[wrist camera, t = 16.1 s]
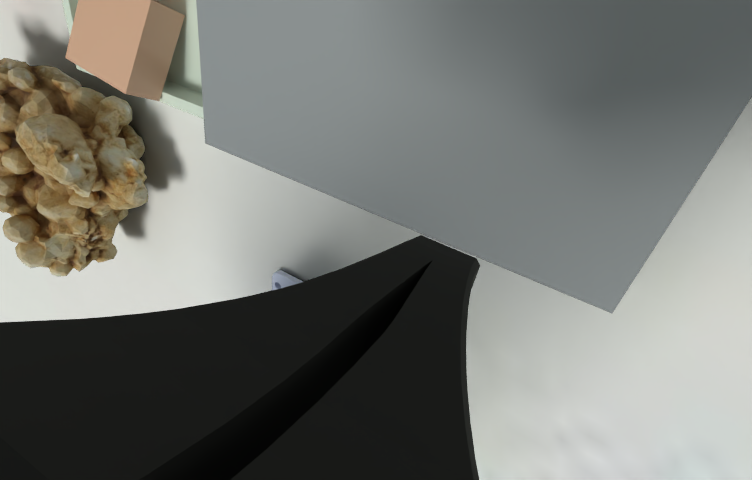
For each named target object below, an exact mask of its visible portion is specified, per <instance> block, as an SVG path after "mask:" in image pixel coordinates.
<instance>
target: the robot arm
mask: <svg viewBox="0 0 752 480" xmlns="http://www.w3.org/2000/svg"><path fill="white" fill-rule="evenodd" d="M479 267H480V265H479V263H478V261H477V259H476V258H474V257H471V256H469V255H467V254H464V253H462V252H459V251H457V250H455V249H452V248H450V247H448V246H445V245H443V244H440V243H438V242H436V241H433V240H431V239H428V238H426V237H424V236H418V237H416V238H414V239H411V240H409V241H406V242H404V243H402V244H399V245H397V246H395V247H393V248H390V249H388V250H386V251H383V252H381V253H379V254H377V255H374V256H372V257H369V258H367V259H364V260H362V261H359V262H357V263H355V264H352V265H350V266H347V267H345V268H342V269H339V270H336V271H334V272H331V273H328V274H325V275H322V276H319V277H316V278H313V279H310V280H308V281H305V282H303V281H301V280H299V279H297V278H295V277H293V276H291V275H289V274H287V273H285V272H283V271H281V270H277V271H276V272H275V273H274V274H273V276H272V291H268V292H264V293H260V294H256V295H252V296H248V297H243V298H238V299H233V300H227V301H221V302H216V303H210V304H204V305H199V306H193V307H187V308H182V309H174V310H167V311H159V312H151V313H142V314H132V315H122V316H112V317H100V318H87V319H70V320H48V321H25V322H3V323H0V480H479V476H478V471H477V466H476V460H475V454H474V446H473V439H472V431H471V424H470V414H469V404H468V392H467V375H466V330H467V316H468V305H469V298H470V292H471V288H472V286H473V283H474V280H475V278H476V275H477V272H478V270H479Z"/></svg>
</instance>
